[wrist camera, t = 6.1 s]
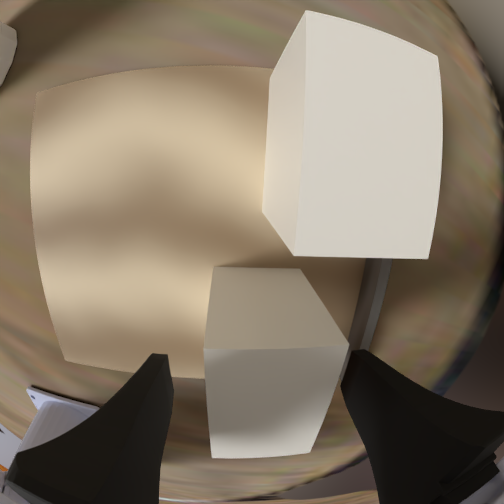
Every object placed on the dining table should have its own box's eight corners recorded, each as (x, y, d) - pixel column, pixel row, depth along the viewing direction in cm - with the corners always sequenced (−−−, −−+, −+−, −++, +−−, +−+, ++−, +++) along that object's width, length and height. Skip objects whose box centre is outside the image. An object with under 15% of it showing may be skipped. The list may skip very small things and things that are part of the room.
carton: (301, 268, 13) (351, 344, 7) (286, 366, 15) (311, 452, 9) (213, 266, 12) (203, 348, 7) (214, 367, 14) (212, 457, 8)
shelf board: (342, 364, 16) (354, 387, 14) (70, 353, 14) (56, 374, 12) (382, 96, 11) (406, 87, 9) (44, 95, 9) (20, 88, 7)
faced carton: (356, 93, 10) (439, 57, 5) (348, 217, 12) (429, 259, 7) (269, 78, 10) (305, 10, 4) (262, 211, 12) (293, 256, 6)
